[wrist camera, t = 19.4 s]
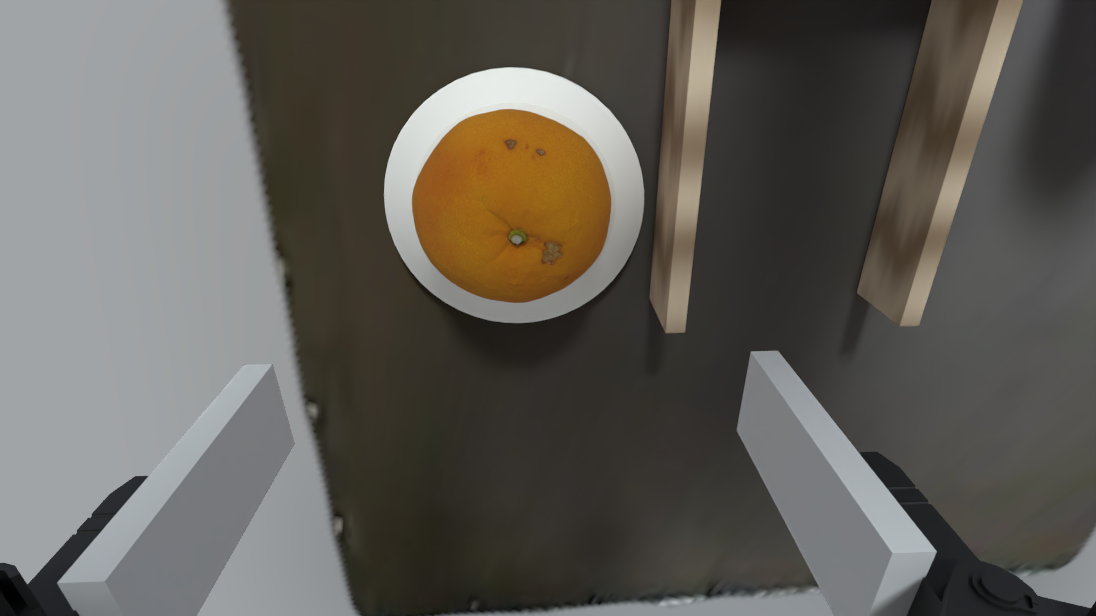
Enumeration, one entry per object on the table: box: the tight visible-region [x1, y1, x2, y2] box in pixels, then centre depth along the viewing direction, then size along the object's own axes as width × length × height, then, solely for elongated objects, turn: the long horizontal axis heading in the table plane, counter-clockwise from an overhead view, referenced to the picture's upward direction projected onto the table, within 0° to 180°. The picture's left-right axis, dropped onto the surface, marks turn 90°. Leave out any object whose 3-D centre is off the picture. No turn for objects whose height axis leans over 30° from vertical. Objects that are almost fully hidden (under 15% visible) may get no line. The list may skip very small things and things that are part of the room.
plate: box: [384, 67, 644, 323], centre depth 35 cm, size 16×16×1 cm
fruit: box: [412, 109, 611, 303], centre depth 30 cm, size 10×10×8 cm
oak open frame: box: [649, 0, 1023, 333], centre depth 31 cm, size 23×16×6 cm
